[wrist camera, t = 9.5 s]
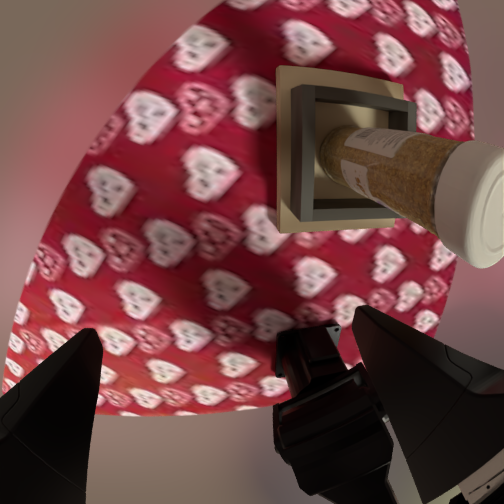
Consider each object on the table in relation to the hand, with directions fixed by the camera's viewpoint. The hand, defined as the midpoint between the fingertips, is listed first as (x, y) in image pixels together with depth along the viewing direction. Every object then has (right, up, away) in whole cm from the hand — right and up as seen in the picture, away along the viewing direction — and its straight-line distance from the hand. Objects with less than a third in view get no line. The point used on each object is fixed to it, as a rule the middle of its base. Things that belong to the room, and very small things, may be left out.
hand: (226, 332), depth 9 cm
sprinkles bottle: (+8, +10, +10) cm, 16 cm away
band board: (+8, +10, +11) cm, 17 cm away
